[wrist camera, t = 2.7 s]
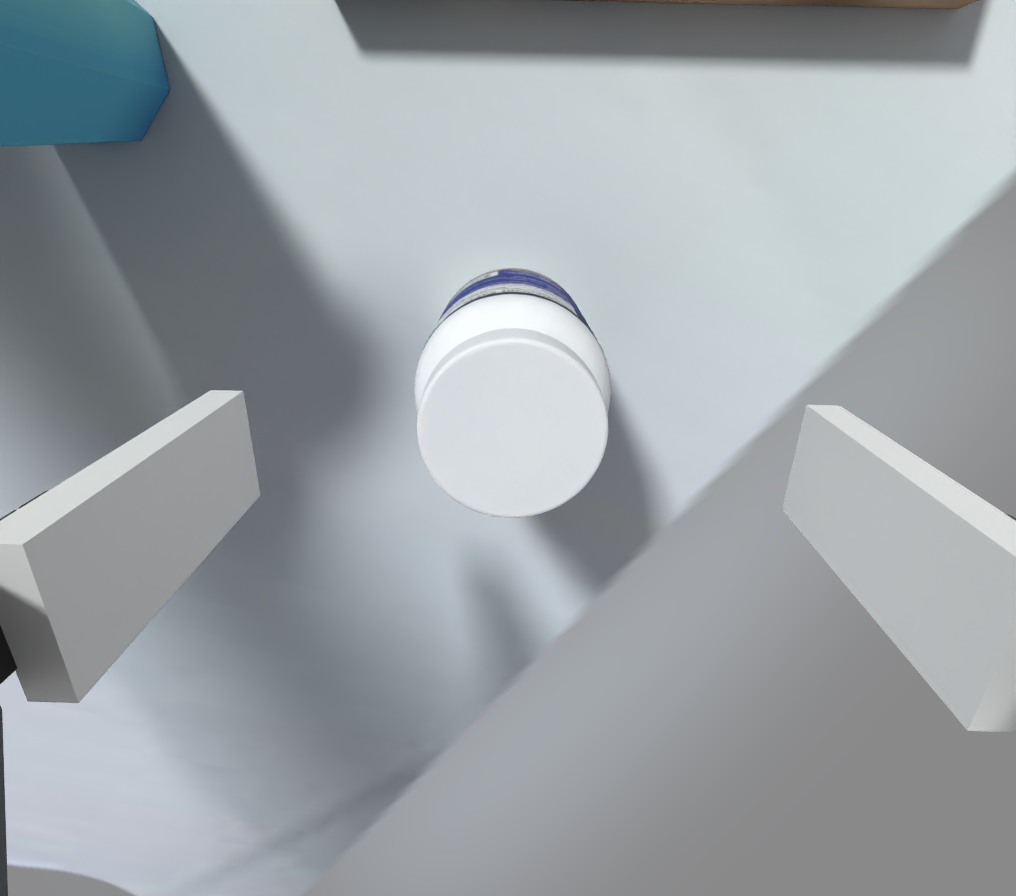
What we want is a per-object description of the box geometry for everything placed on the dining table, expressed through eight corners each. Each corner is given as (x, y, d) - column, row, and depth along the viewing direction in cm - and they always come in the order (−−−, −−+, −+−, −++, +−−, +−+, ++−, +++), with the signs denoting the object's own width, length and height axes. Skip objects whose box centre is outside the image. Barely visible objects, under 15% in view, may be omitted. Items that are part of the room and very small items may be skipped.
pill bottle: (569, 417, 25) (601, 552, 15) (432, 397, 24) (383, 523, 15) (598, 277, 22) (657, 338, 13) (448, 252, 22) (401, 298, 13)
